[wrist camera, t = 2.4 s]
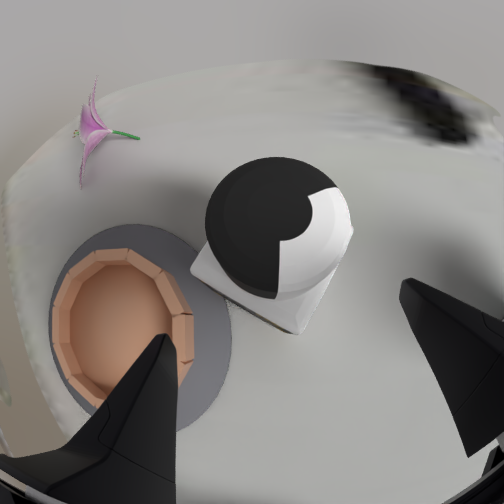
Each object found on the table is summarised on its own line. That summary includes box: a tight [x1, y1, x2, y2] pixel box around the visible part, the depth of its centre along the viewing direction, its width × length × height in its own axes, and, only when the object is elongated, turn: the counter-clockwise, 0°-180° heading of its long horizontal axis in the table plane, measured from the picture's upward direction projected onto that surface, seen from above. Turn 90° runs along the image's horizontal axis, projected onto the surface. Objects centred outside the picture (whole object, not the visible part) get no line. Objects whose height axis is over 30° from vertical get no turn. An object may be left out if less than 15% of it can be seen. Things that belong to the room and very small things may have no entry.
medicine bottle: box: [190, 157, 353, 335], centre depth 16 cm, size 7×7×12 cm
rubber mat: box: [49, 225, 232, 432], centre depth 21 cm, size 20×20×1 cm
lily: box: [74, 78, 140, 188], centre depth 24 cm, size 12×12×10 cm
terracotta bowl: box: [52, 248, 194, 408], centre depth 20 cm, size 14×14×2 cm
